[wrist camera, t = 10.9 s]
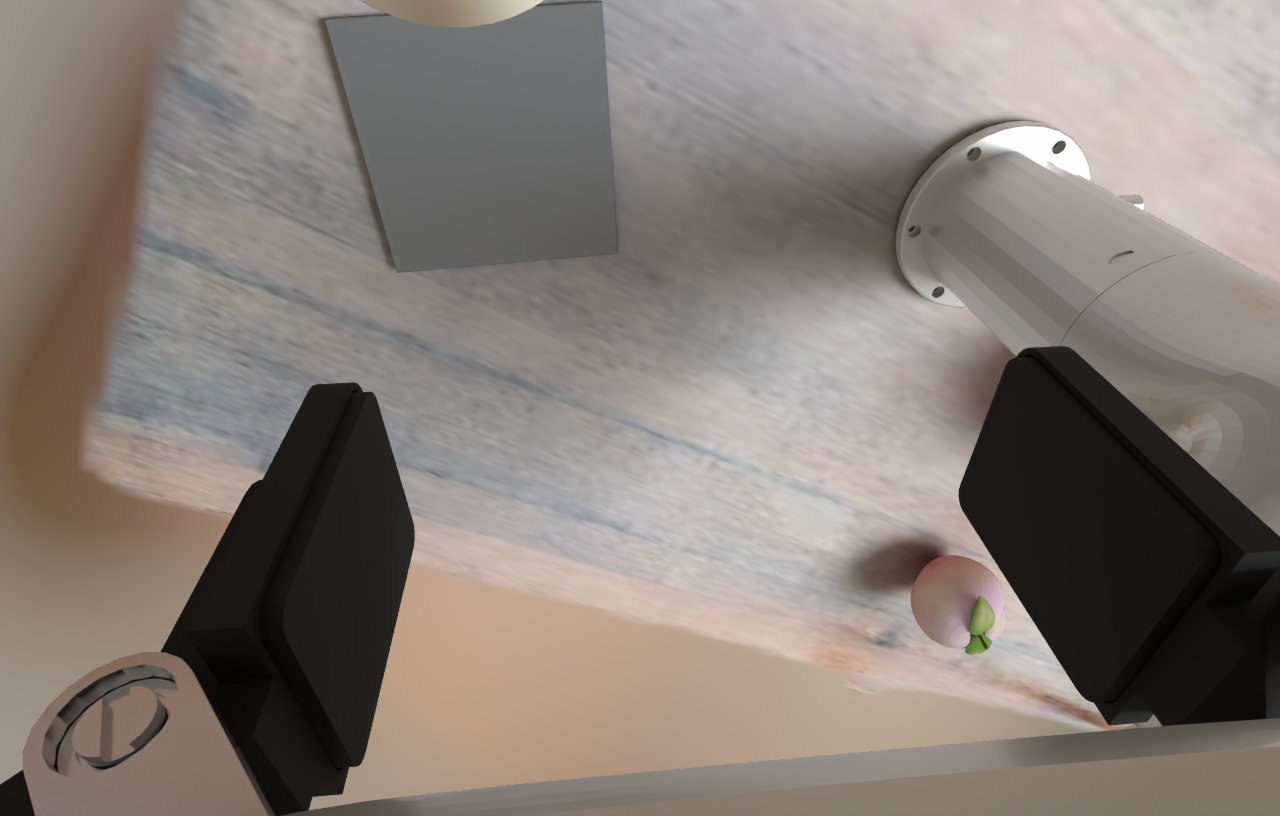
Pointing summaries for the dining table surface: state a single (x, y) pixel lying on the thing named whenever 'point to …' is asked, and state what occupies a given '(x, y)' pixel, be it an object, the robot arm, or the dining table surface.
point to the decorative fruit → (959, 603)
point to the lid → (453, 11)
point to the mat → (484, 134)
